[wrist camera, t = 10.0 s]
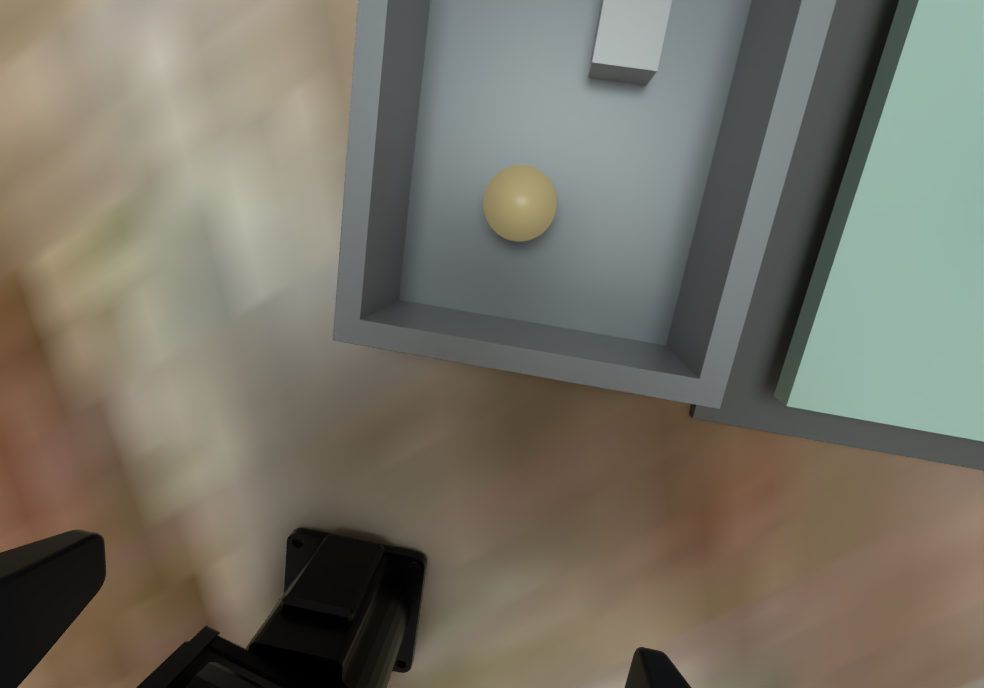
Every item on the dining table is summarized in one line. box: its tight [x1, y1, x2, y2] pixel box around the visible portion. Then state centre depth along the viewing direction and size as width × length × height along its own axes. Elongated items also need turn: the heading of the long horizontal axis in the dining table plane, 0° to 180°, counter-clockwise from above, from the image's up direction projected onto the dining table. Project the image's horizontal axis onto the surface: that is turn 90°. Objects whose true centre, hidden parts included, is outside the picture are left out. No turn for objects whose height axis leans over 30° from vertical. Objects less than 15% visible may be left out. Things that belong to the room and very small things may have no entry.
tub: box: [333, 0, 836, 409], centre depth 16 cm, size 16×12×5 cm
